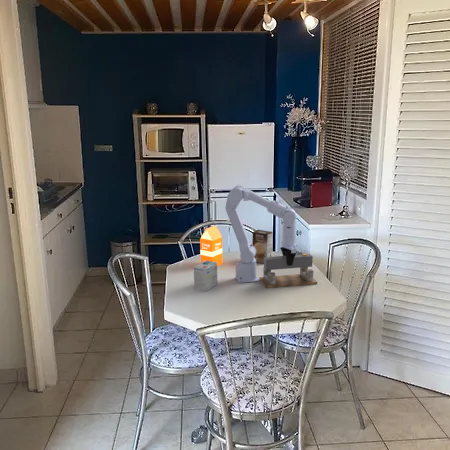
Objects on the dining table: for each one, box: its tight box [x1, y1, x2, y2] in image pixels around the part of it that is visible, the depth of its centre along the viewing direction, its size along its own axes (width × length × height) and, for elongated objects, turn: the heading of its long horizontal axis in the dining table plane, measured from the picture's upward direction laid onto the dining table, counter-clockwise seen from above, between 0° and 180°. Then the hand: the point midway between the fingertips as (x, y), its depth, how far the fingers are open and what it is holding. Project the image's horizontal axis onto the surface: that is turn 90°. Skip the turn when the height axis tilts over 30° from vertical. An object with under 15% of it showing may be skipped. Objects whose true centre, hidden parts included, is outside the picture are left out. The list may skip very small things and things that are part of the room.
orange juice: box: [199, 225, 223, 267], centre depth 243 cm, size 8×9×20 cm
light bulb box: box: [193, 261, 218, 292], centre depth 212 cm, size 11×7×11 cm, turn 154°
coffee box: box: [251, 229, 273, 264], centre depth 248 cm, size 9×6×16 cm
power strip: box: [263, 253, 314, 271], centre depth 217 cm, size 22×4×6 cm, turn 101°
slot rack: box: [258, 267, 318, 289], centre depth 218 cm, size 24×12×6 cm, turn 101°
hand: (288, 264), depth 217 cm, fingers closed on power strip, 4 cm apart
